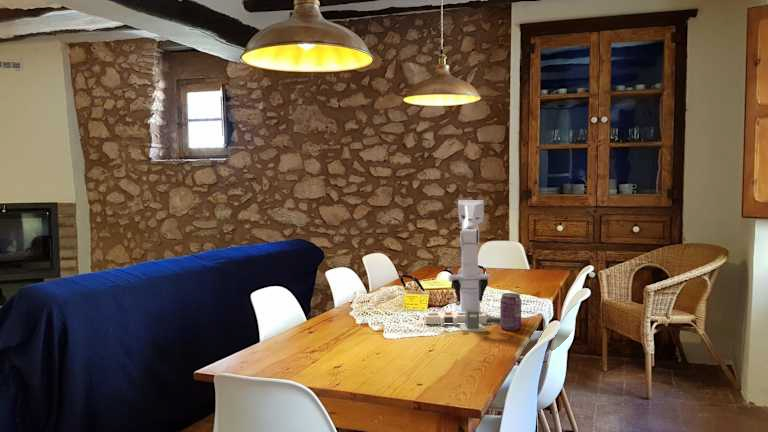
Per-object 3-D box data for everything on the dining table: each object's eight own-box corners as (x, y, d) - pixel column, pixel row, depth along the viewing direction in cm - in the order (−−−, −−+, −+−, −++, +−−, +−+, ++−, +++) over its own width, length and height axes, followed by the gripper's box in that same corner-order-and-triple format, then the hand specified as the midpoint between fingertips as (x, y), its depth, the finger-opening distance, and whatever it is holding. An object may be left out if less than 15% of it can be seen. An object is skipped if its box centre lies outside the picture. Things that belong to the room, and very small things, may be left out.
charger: (463, 323, 217) (463, 306, 217) (474, 323, 218) (474, 306, 217) (467, 328, 210) (467, 311, 210) (478, 328, 210) (478, 311, 210)
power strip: (424, 320, 224) (424, 311, 224) (499, 319, 225) (499, 309, 225) (426, 326, 215) (426, 316, 215) (504, 325, 217) (504, 315, 216)
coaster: (458, 325, 216) (458, 324, 216) (480, 325, 217) (480, 323, 217) (462, 331, 208) (462, 330, 208) (485, 331, 209) (485, 329, 209)
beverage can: (519, 326, 215) (519, 292, 214) (522, 331, 208) (522, 297, 207) (499, 325, 216) (499, 292, 215) (501, 331, 209) (501, 296, 208)
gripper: (450, 265, 208) (450, 304, 209) (492, 264, 209) (492, 303, 210) (447, 261, 215) (447, 299, 216) (488, 261, 216) (487, 298, 217)
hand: (469, 301), depth 214 cm, fingers open, 7 cm apart
